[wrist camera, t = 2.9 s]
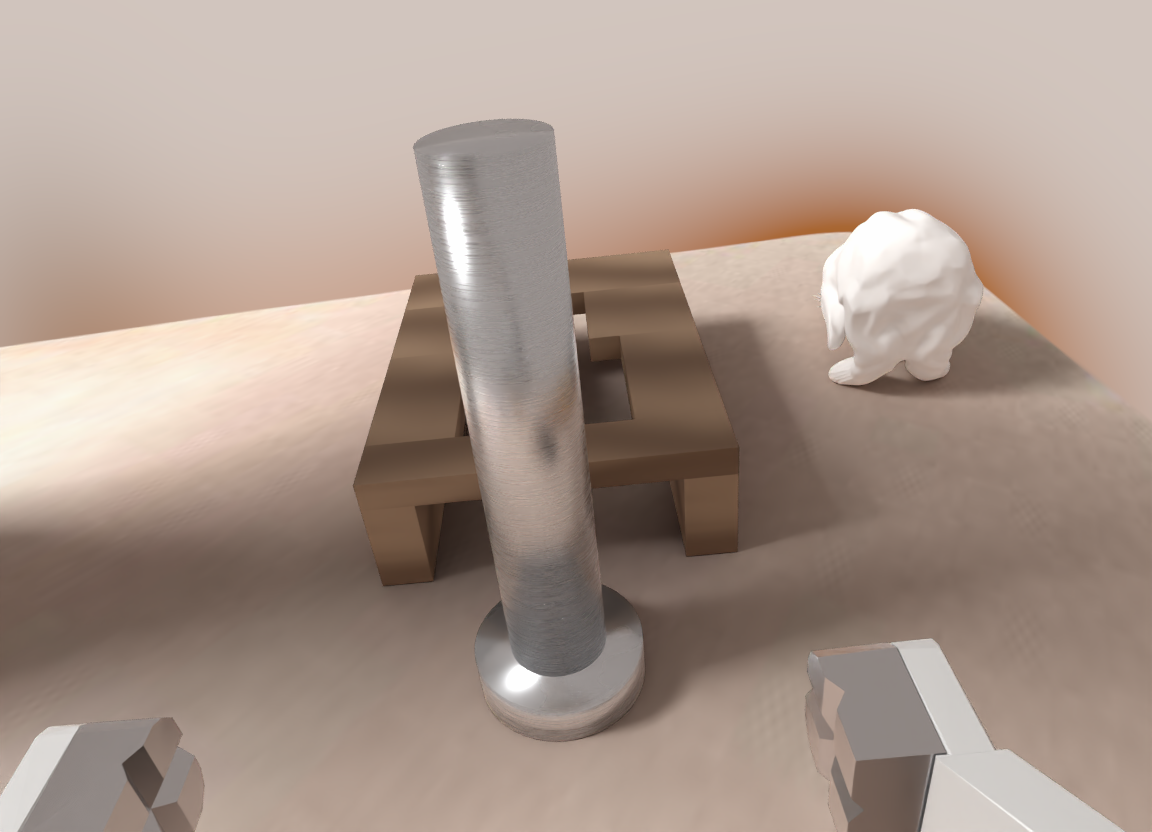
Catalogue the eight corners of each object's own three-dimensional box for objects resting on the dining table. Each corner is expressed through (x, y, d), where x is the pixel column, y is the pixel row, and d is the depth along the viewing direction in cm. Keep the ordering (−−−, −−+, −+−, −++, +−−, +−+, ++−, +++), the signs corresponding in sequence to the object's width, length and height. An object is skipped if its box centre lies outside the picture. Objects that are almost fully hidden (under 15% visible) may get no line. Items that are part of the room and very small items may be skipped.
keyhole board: (737, 551, 33) (739, 447, 30) (382, 585, 33) (353, 485, 30) (671, 330, 49) (668, 249, 46) (432, 354, 49) (415, 275, 46)
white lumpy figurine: (852, 236, 36) (795, 177, 46) (841, 413, 40) (791, 321, 50) (1004, 224, 35) (912, 167, 46) (978, 404, 39) (898, 313, 50)
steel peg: (455, 721, 27) (310, 176, 18) (516, 599, 32) (427, 108, 22) (620, 757, 26) (561, 177, 16) (661, 623, 30) (634, 104, 20)
